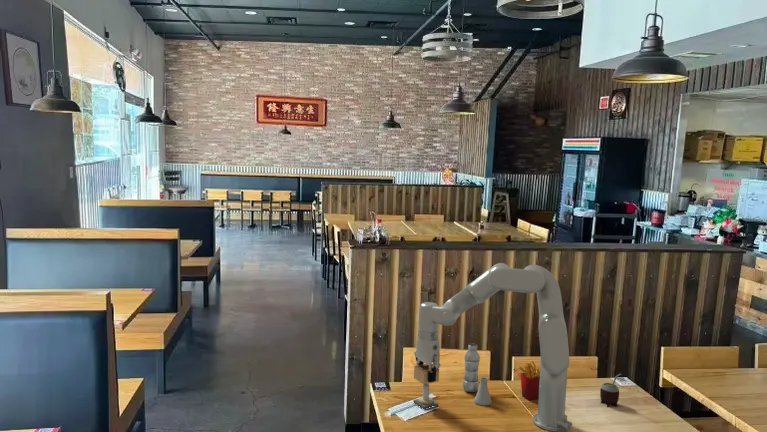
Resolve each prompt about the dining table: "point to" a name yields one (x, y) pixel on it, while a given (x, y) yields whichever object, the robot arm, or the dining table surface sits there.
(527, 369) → the french fries
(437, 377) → the collar
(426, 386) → the post stand
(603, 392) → the mate gourd
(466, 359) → the plastic bottle
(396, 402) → the dining table surface
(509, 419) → the dining table surface
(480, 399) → the flask
